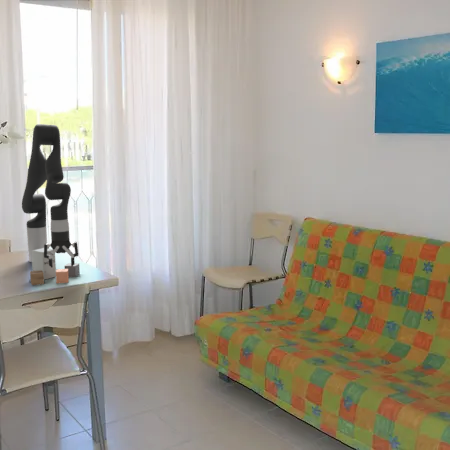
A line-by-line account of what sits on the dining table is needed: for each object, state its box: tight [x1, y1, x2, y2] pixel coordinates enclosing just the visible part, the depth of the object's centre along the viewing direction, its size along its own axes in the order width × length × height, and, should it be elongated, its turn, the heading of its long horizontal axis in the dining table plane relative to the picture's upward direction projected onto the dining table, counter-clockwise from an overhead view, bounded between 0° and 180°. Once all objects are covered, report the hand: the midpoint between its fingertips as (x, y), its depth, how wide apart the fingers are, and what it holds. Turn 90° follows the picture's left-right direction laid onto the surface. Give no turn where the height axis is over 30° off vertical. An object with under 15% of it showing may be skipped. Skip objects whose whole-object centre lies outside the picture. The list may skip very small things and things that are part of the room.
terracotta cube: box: [55, 268, 70, 284], centre depth 263 cm, size 5×5×5 cm
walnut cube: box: [29, 270, 45, 286], centre depth 261 cm, size 5×5×5 cm
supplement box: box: [31, 248, 57, 281], centre depth 270 cm, size 7×7×13 cm
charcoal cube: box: [64, 262, 80, 278], centre depth 274 cm, size 5×5×5 cm
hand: (61, 266), depth 263 cm, fingers open, 8 cm apart
